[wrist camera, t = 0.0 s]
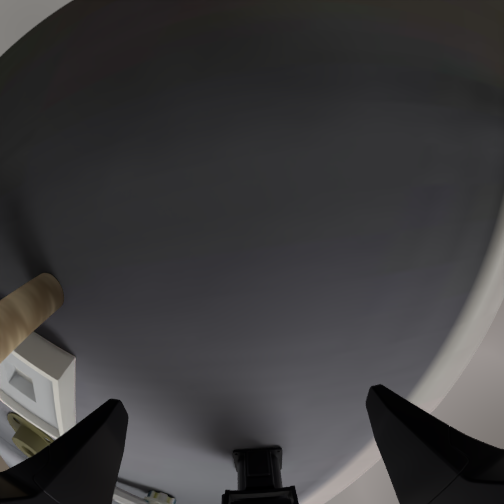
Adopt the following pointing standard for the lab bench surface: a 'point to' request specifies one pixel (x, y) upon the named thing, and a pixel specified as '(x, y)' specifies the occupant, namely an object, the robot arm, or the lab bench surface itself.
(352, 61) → the lab bench surface
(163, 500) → the light grey piece
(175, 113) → the lab bench surface
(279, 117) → the lab bench surface
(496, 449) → the robot arm
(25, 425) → the flange
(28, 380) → the box
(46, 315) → the peg
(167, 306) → the lab bench surface
